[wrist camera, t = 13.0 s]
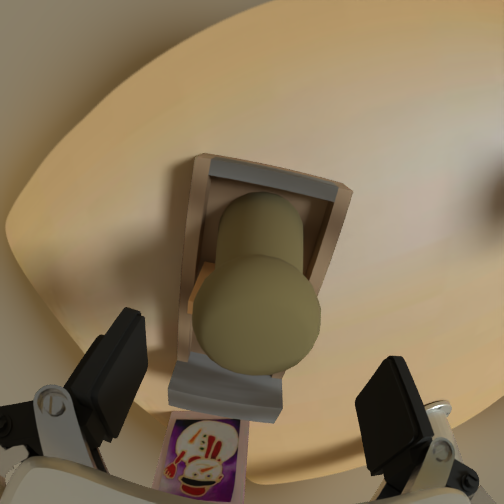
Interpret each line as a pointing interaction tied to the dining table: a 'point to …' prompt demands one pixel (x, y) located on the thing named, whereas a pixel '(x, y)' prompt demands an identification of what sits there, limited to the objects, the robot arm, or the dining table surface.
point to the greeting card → (203, 458)
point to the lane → (204, 250)
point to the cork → (257, 290)
